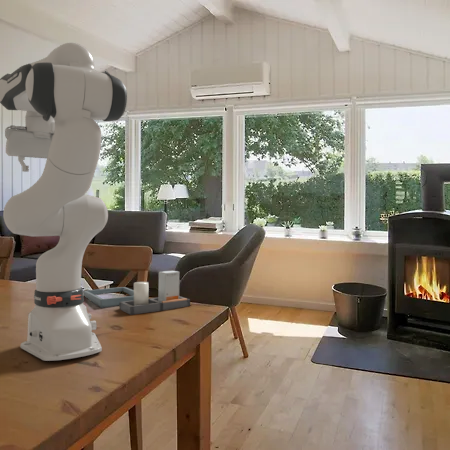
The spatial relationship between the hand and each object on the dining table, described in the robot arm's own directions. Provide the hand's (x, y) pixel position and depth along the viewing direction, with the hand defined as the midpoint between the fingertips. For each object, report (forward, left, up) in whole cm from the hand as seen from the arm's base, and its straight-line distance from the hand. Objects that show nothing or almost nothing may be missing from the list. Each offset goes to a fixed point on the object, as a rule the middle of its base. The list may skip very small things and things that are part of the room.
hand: (41, 172), depth 144 cm
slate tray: (+6, -26, -45) cm, 52 cm away
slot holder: (-13, -33, -45) cm, 57 cm away
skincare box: (-13, -38, -45) cm, 60 cm away
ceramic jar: (-13, -28, -45) cm, 54 cm away
